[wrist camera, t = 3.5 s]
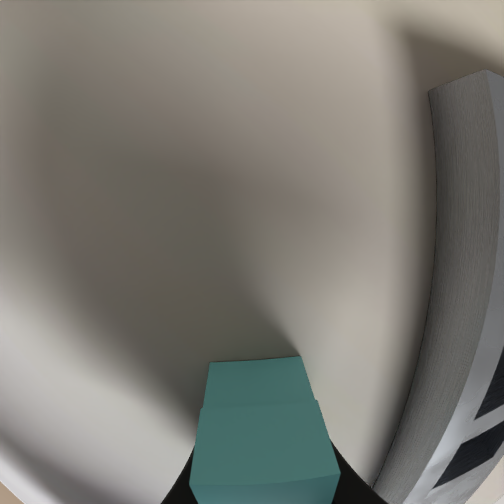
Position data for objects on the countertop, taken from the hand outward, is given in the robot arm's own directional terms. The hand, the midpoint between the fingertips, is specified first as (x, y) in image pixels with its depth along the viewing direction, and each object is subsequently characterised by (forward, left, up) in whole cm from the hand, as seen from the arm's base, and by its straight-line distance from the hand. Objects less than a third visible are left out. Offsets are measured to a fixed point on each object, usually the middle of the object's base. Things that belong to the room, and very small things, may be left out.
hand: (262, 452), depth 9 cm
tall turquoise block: (0, 0, -1) cm, 1 cm away
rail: (+10, 0, -1) cm, 10 cm away
